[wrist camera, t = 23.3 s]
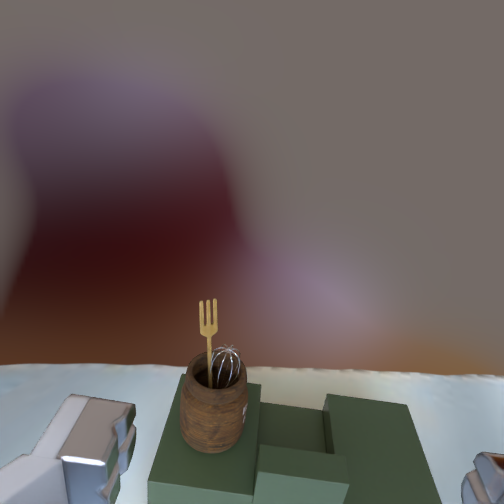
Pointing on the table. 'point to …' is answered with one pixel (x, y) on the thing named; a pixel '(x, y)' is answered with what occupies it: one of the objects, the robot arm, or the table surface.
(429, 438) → the table surface
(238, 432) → the utensil holder
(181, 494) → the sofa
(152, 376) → the table surface
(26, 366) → the table surface
